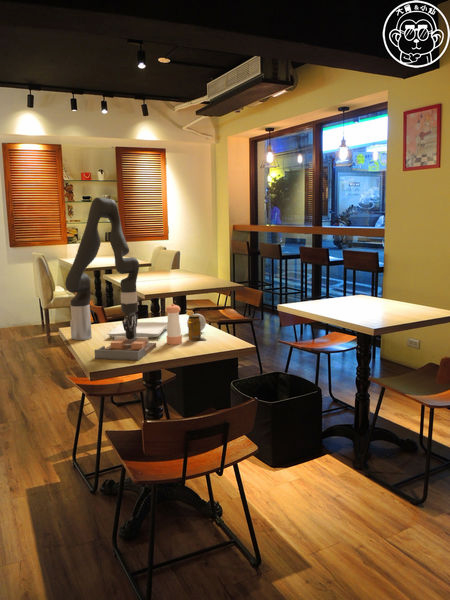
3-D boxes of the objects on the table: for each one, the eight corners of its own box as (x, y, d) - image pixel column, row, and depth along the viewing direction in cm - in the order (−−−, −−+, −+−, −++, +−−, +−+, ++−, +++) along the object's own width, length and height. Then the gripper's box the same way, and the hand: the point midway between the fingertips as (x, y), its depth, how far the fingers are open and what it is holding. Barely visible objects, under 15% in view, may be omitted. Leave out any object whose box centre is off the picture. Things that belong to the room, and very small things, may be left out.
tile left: (110, 348, 238) (110, 342, 238) (115, 345, 243) (115, 340, 243) (121, 348, 237) (120, 343, 237) (125, 345, 242) (125, 340, 242)
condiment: (186, 338, 262) (186, 315, 260) (203, 337, 264) (202, 313, 262) (189, 341, 255) (188, 317, 253) (206, 340, 257) (205, 316, 255)
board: (103, 353, 237) (103, 349, 237) (116, 345, 250) (116, 341, 250) (145, 355, 233) (145, 350, 232) (156, 347, 246) (156, 342, 246)
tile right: (131, 348, 236) (131, 343, 236) (135, 346, 241) (135, 340, 241) (142, 349, 235) (141, 343, 235) (145, 346, 240) (145, 341, 240)
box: (95, 358, 228) (94, 349, 228) (103, 353, 237) (103, 345, 236) (138, 360, 224) (137, 351, 223) (145, 355, 232) (145, 346, 232)
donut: (188, 333, 272) (187, 314, 270) (186, 332, 275) (186, 313, 273) (206, 332, 274) (206, 313, 273) (205, 330, 278) (204, 312, 276)
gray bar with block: (114, 343, 242) (113, 326, 241) (116, 342, 245) (115, 325, 244) (146, 344, 239) (146, 327, 238) (149, 343, 242) (148, 326, 241)
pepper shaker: (181, 344, 250) (179, 304, 247) (166, 344, 250) (164, 305, 247) (182, 340, 257) (180, 302, 254) (167, 341, 257) (165, 302, 254)
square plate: (171, 328, 287) (170, 321, 287) (160, 340, 260) (159, 332, 260) (123, 328, 290) (122, 321, 289) (107, 340, 263) (106, 332, 262)
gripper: (127, 298, 246) (129, 334, 249) (115, 304, 233) (117, 341, 236) (142, 298, 245) (144, 334, 248) (131, 304, 231) (133, 342, 234)
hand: (131, 338), depth 242 cm, fingers closed on gray bar with block, 3 cm apart
